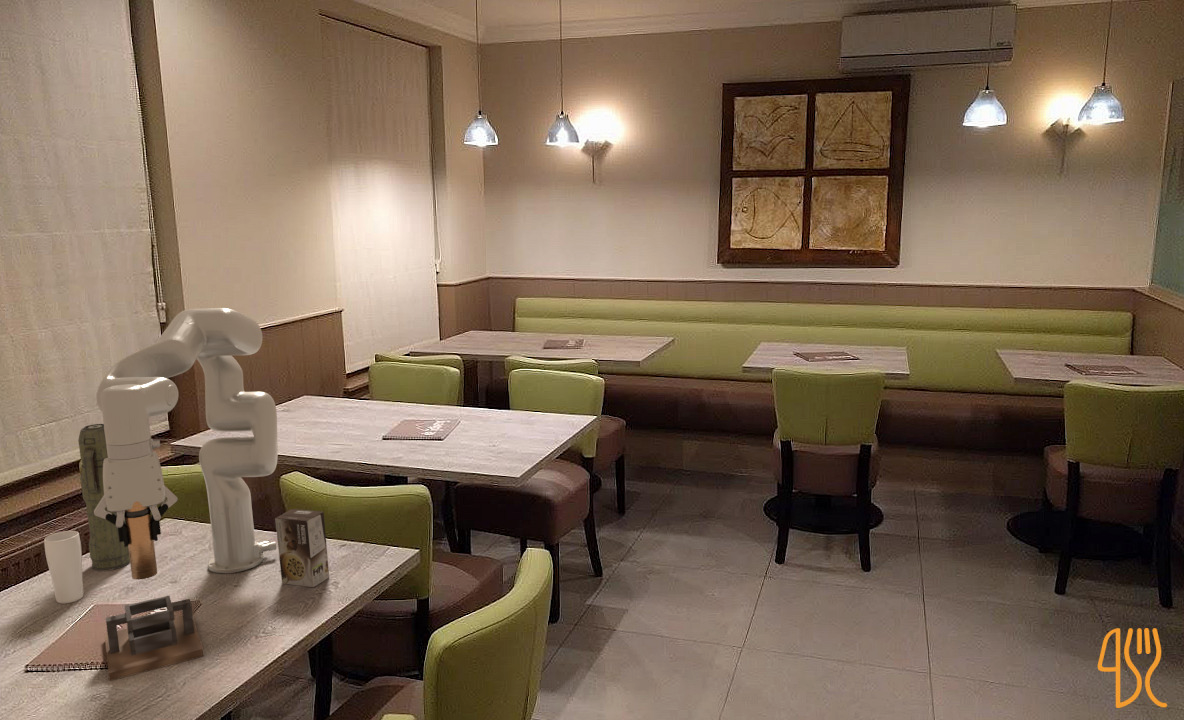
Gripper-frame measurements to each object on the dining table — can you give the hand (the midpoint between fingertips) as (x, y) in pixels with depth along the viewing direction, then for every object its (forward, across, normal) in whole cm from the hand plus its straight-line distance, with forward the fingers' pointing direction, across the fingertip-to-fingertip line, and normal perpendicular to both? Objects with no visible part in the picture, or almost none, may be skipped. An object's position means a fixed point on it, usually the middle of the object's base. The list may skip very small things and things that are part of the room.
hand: (140, 540), depth 165 cm
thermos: (+23, +5, -54) cm, 59 cm away
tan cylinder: (+7, 0, 0) cm, 7 cm away
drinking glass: (+23, +14, -36) cm, 45 cm away
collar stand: (+22, 0, 0) cm, 22 cm away
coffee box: (+23, -33, -16) cm, 43 cm away
